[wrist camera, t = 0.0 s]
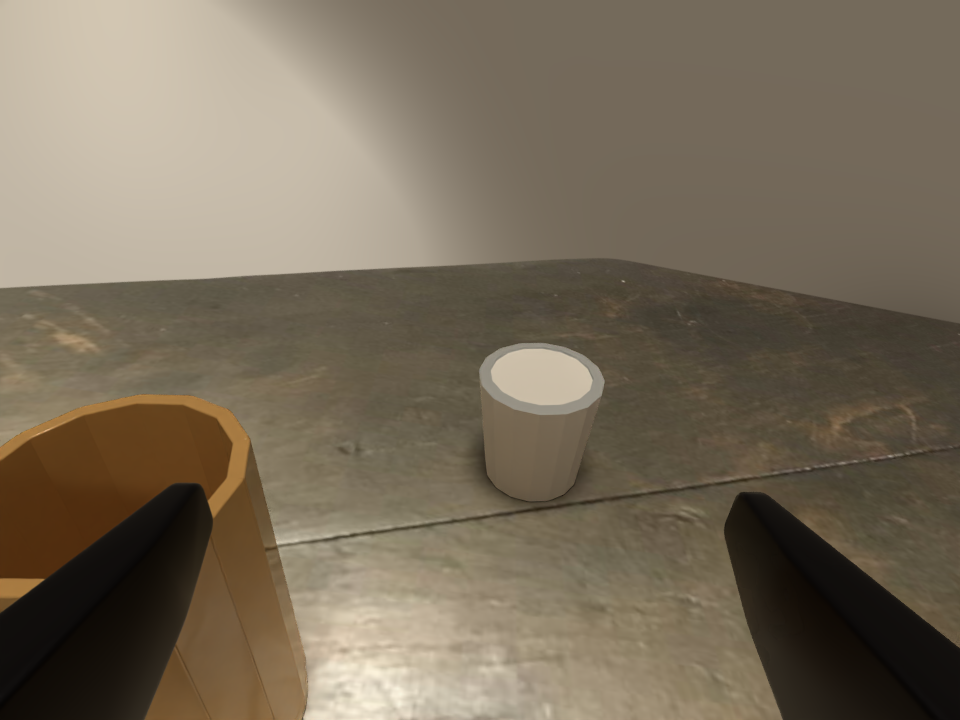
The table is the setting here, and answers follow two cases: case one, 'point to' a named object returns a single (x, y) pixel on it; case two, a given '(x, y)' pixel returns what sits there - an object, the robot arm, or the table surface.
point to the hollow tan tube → (227, 562)
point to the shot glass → (537, 417)
